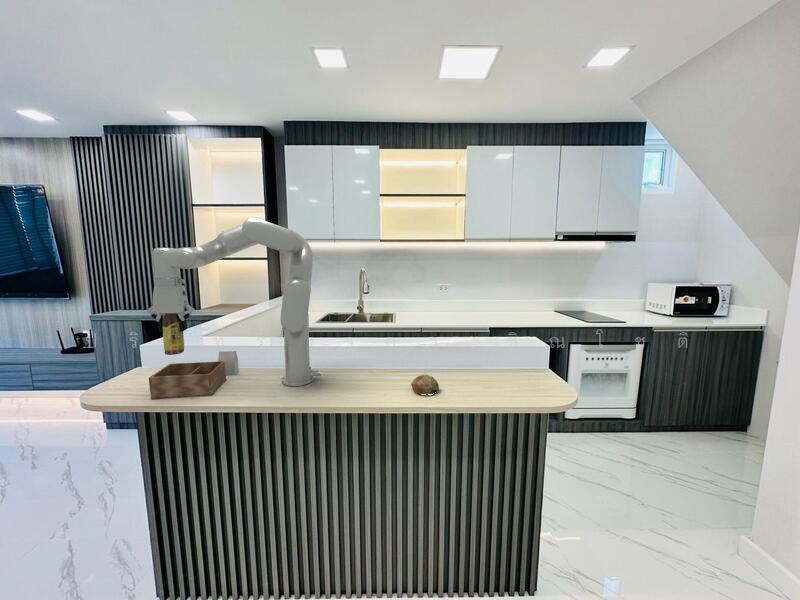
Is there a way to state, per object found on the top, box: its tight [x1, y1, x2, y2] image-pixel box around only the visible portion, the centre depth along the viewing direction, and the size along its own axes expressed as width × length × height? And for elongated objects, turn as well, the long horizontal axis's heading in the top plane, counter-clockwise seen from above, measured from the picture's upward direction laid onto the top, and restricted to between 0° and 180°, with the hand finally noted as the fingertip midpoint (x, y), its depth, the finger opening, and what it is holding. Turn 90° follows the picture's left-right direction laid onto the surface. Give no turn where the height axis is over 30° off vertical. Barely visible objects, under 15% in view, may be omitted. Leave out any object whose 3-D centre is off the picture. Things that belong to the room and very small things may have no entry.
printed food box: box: [217, 350, 240, 376], centre depth 142 cm, size 4×7×10 cm, turn 94°
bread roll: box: [410, 374, 440, 395], centre depth 126 cm, size 10×10×8 cm
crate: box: [148, 360, 227, 400], centre depth 126 cm, size 20×15×8 cm
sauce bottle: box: [162, 314, 185, 356], centre depth 122 cm, size 7×6×20 cm
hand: (172, 330), depth 123 cm, fingers closed on sauce bottle, 6 cm apart
